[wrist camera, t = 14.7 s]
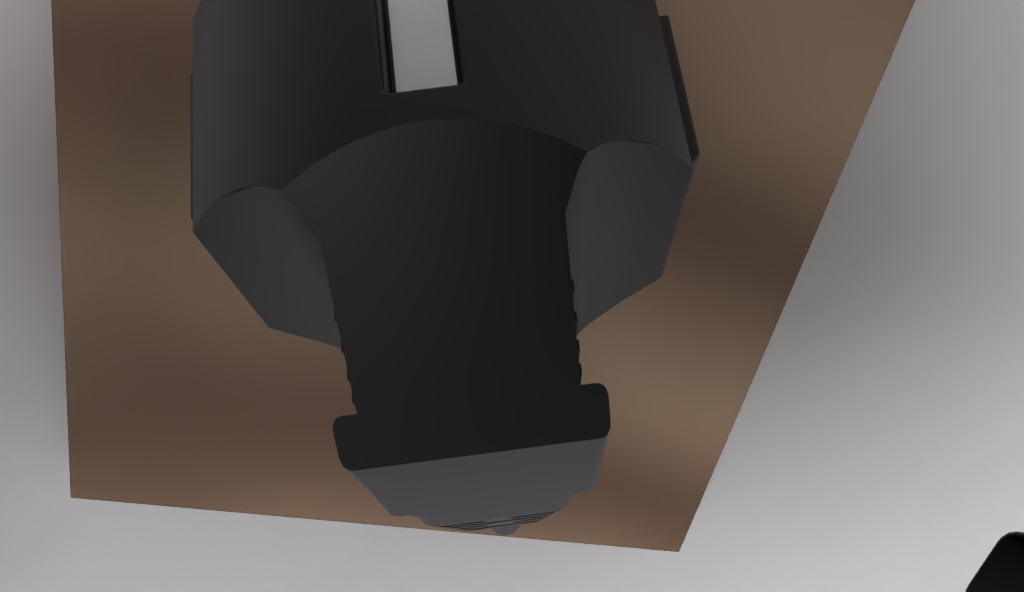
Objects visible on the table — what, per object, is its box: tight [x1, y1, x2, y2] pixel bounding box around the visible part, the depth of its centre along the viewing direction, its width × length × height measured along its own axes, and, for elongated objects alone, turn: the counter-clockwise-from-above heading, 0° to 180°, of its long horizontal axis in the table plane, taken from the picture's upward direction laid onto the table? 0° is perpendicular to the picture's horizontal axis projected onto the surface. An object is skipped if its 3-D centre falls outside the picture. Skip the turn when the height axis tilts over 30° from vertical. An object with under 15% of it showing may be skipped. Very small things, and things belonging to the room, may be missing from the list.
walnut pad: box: [51, 0, 915, 552], centre depth 15 cm, size 16×12×1 cm
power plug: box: [190, 0, 700, 535], centre depth 14 cm, size 6×8×12 cm
